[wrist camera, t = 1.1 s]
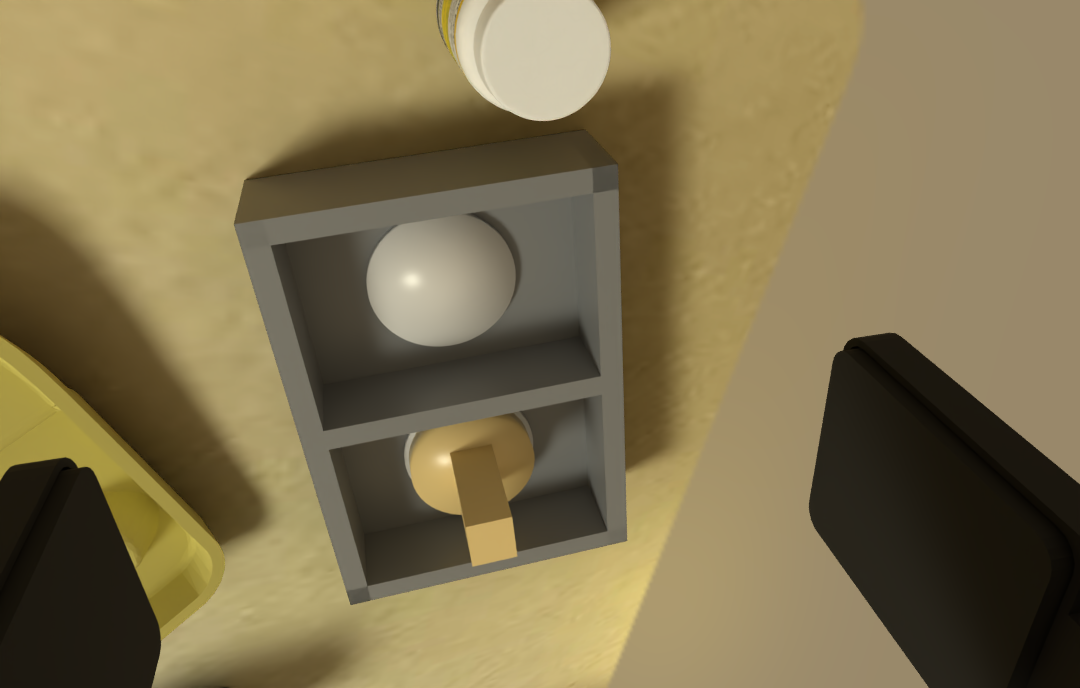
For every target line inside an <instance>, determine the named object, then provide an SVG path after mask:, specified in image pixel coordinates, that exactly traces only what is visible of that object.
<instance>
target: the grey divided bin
mask: <svg viewBox="0 0 1080 688" xmlns="http://www.w3.org/2000/svg"><path fill="white" fill-rule="evenodd" d="M234 226H235V230H236V233H237V236H238V239H239V243H240V246H241V249H242V252H243V256H244V259H245V262H246V265H247V269H248V272H249V275H250V279H251V282H252V285H253V288H254V292H255V295H256V298H257V301H258V305H259V308H260V311H261V314H262V318H263V321H264V324H265V327H266V331H267V334H268V337H269V340H270V344H271V347H272V350H273V353H274V357H275V360H276V363H277V367H278V370H279V373H280V376H281V380H282V383H283V386H284V389H285V393H286V396H287V399H288V402H289V406H290V409H291V412H292V415H293V419H294V422H295V425H296V428H297V432H298V435H299V438H300V441H301V445H302V448H303V451H304V455H305V458H306V461H307V464H308V468H309V471H310V474H311V477H312V481H313V484H314V487H315V490H316V494H317V497H318V500H319V503H320V507H321V510H322V513H323V516H324V520H325V523H326V526H327V529H328V533H329V536H330V539H331V542H332V546H333V549H334V552H335V556H336V559H337V562H338V565H339V569H340V572H341V575H342V578H343V582H344V585H345V588H346V591H347V595H348V598H349V601H350V604H351V605H353V604H357V603H362V602H366V601H370V600H375V599H379V598H383V597H387V596H392V595H396V594H400V593H405V592H409V591H413V590H418V589H422V588H426V587H431V586H435V585H439V584H444V583H448V582H452V581H456V580H461V579H465V578H469V577H474V576H478V575H482V574H487V573H491V572H495V571H500V570H504V569H508V568H512V567H517V566H521V565H525V564H530V563H534V562H538V561H543V560H547V559H551V558H556V557H560V556H564V555H569V554H573V553H577V552H581V551H586V550H590V549H594V548H599V547H603V546H607V545H612V544H616V543H620V542H625V541H627V517H626V476H625V435H624V393H623V352H622V311H621V270H620V228H619V187H618V164H617V162H616V161H615V160H614V159H613V158H612V157H611V156H610V155H609V154H608V153H607V152H606V151H605V150H604V149H603V148H602V147H601V146H600V145H599V144H598V142H597V141H596V140H595V139H594V138H593V137H592V136H591V135H590V134H589V133H588V132H587V131H586V130H579V131H572V132H566V133H559V134H552V135H545V136H539V137H532V138H525V139H519V140H512V141H505V142H499V143H492V144H485V145H478V146H472V147H465V148H458V149H452V150H445V151H438V152H432V153H425V154H418V155H411V156H405V157H398V158H391V159H385V160H378V161H371V162H365V163H358V164H351V165H344V166H338V167H331V168H324V169H318V170H311V171H304V172H297V173H291V174H284V175H277V176H271V177H264V178H257V179H251V180H244V184H243V189H242V193H241V197H240V201H239V205H238V209H237V213H236V218H235V222H234Z"/></svg>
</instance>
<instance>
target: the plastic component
mask: <svg viewBox="0 0 1080 688" xmlns="http://www.w3.org/2000/svg"><path fill="white" fill-rule="evenodd" d="M63 457H66V458H70V459H72V460H73V461H74V462H75V463H76V465H77V467H78V468H80V467H89V468H91V469H92V470H93V471H94V473H95V475H96V477H97V479H98V481H99V484H100V486H101V489H102V491H103V493H104V496H105V498H106V500H107V503H108V505H109V507H110V510H111V512H112V514H113V517H114V519H115V522H116V524H117V526H118V529H119V531H120V533H121V536H122V538H123V540H124V543H125V545H126V548H127V550H128V552H129V555H130V557H131V559H132V562H133V564H134V566H135V569H136V571H137V574H138V576H139V578H140V581H141V583H142V585H143V588H144V590H145V592H146V595H147V597H148V600H149V602H150V604H151V607H152V609H153V611H154V614H155V616H156V618H157V621H158V624H159V628H160V634H161V640H162V639H164V638H165V637H166V636H167V635H168V634H170V633H171V632H172V631H173V630H174V629H175V628H177V627H178V626H179V625H180V624H181V623H183V622H184V621H185V620H186V619H187V618H188V617H190V616H191V615H192V614H193V613H194V612H196V611H197V610H198V609H199V608H200V607H202V606H203V605H204V604H205V603H206V602H207V601H208V600H209V599H210V597H211V596H212V595H213V594H214V593H215V591H216V589H217V588H218V586H219V584H220V582H221V580H222V576H223V573H224V569H225V559H224V554H223V551H222V549H221V547H220V546H219V544H218V542H217V541H216V539H215V538H214V536H213V535H212V533H211V532H210V530H209V529H208V527H207V526H206V524H205V523H204V522H203V520H202V519H201V517H200V516H199V515H198V514H197V513H196V512H195V511H194V510H193V509H192V508H191V507H190V506H189V505H188V504H187V503H186V502H185V501H184V500H183V499H182V498H181V497H180V496H179V495H178V494H177V493H176V492H175V491H174V490H173V489H172V488H171V487H170V486H169V485H168V484H167V483H166V482H165V481H164V480H163V479H162V478H161V477H160V476H159V475H158V474H157V473H156V472H155V471H154V470H153V469H152V468H151V467H150V466H149V465H148V464H147V463H146V462H145V461H144V460H143V459H142V458H141V457H140V456H139V455H138V454H137V453H136V452H135V451H134V450H133V449H132V448H131V447H130V446H129V445H128V444H127V443H126V442H125V441H124V440H123V439H122V438H121V437H120V436H119V435H118V434H117V433H116V432H115V431H114V430H113V429H112V428H111V427H110V426H109V425H108V424H107V423H106V422H105V421H104V420H103V419H102V418H101V417H100V416H99V415H98V414H97V413H96V412H95V411H94V410H93V409H92V408H91V407H90V405H89V404H88V403H87V402H86V401H85V400H84V399H83V398H82V397H81V396H80V395H79V394H78V393H77V392H75V391H74V390H72V389H69V388H67V387H66V386H65V385H64V384H63V383H62V382H61V381H60V380H59V379H58V378H57V377H56V376H54V375H53V374H52V373H51V372H50V371H49V370H48V369H47V368H46V367H44V366H43V365H42V364H41V363H40V362H38V361H37V360H36V359H35V358H33V357H32V356H31V355H29V354H28V353H26V352H25V351H23V350H22V349H20V348H19V347H17V346H16V345H15V344H13V343H12V342H10V341H9V340H7V339H5V338H4V337H2V336H1V335H0V480H1V479H2V477H3V475H4V474H5V472H6V471H7V470H8V469H9V468H10V467H11V466H14V465H17V464H24V463H30V462H37V461H44V460H50V459H57V458H63Z"/></svg>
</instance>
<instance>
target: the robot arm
mask: <svg viewBox="0 0 1080 688" xmlns="http://www.w3.org/2000/svg"><path fill="white" fill-rule="evenodd" d="M809 512H810V516H811V520H812V522H813V525H814V527H815V529H816V531H817V532H818V533H819V535H820V536H821V538H822V539H823V540H824V542H825V543H826V545H827V546H828V547H829V549H830V550H831V552H832V553H833V554H834V556H835V557H836V559H837V560H838V561H839V563H840V564H841V565H842V567H843V568H844V570H845V571H846V573H847V574H848V575H849V576H850V578H851V580H852V581H853V582H854V584H855V585H856V587H857V588H858V589H859V591H860V592H861V593H862V595H863V596H864V598H865V599H866V600H867V602H868V603H869V605H870V606H871V607H872V609H873V610H874V612H875V613H876V614H877V616H878V617H879V619H880V620H881V621H882V623H883V624H884V626H885V627H886V628H887V630H888V631H889V633H890V634H891V635H892V637H893V638H894V639H895V641H896V642H897V644H898V645H899V646H900V648H901V649H902V651H903V652H904V653H905V655H906V656H907V657H908V659H909V660H910V662H911V663H912V665H913V666H914V667H915V669H916V670H917V671H918V673H919V674H920V676H921V677H922V678H923V680H924V681H925V683H926V684H927V686H928V687H929V688H1080V484H1079V483H1077V482H1076V481H1075V480H1074V479H1073V478H1071V477H1070V476H1069V475H1068V474H1067V473H1065V472H1064V471H1063V470H1062V469H1061V468H1059V467H1058V466H1057V465H1056V464H1054V463H1053V462H1052V461H1051V460H1050V459H1048V458H1047V457H1046V456H1045V455H1044V454H1042V453H1041V452H1040V451H1039V450H1038V449H1036V448H1035V447H1034V446H1033V445H1032V444H1030V443H1029V442H1028V441H1026V440H1025V439H1024V438H1023V437H1022V436H1021V435H1019V434H1018V433H1017V432H1016V431H1015V430H1013V429H1012V428H1011V427H1010V426H1008V425H1007V424H1006V423H1005V422H1004V421H1002V420H1001V419H1000V418H999V417H998V416H996V415H995V414H994V413H993V412H992V411H990V410H989V409H988V408H987V407H985V406H984V405H983V404H982V403H981V402H979V401H978V400H977V399H976V398H975V397H973V396H972V395H971V394H970V393H969V392H967V391H966V390H965V389H964V388H963V387H961V386H960V385H959V384H958V383H957V382H955V381H954V380H953V379H952V378H951V377H949V376H948V375H947V374H946V373H944V372H943V371H942V370H941V369H940V368H938V367H937V366H936V365H935V364H934V363H932V362H931V361H930V360H929V359H928V358H926V357H925V356H924V355H923V354H921V353H920V352H919V351H918V350H916V349H915V348H914V347H913V346H912V345H911V344H909V343H908V342H907V341H906V340H905V339H903V338H902V337H901V336H899V335H897V334H896V333H885V334H878V335H872V336H865V337H858V338H853V339H851V340H849V341H848V342H847V343H846V345H845V346H844V350H843V351H840V352H838V353H837V354H836V355H835V357H834V360H833V364H832V370H831V376H830V382H829V388H828V394H827V399H826V406H825V412H824V417H823V423H822V429H821V436H820V441H819V447H818V453H817V459H816V465H815V471H814V477H813V482H812V488H811V494H810V500H809ZM160 649H161V634H160V628H159V624H158V621H157V618H156V616H155V614H154V611H153V609H152V607H151V604H150V602H149V600H148V597H147V595H146V592H145V590H144V588H143V585H142V583H141V581H140V578H139V576H138V574H137V571H136V569H135V566H134V564H133V562H132V559H131V557H130V555H129V552H128V550H127V548H126V545H125V543H124V540H123V538H122V536H121V533H120V531H119V529H118V526H117V524H116V522H115V519H114V517H113V514H112V512H111V510H110V507H109V505H108V503H107V500H106V498H105V496H104V493H103V491H102V489H101V486H100V484H99V481H98V479H97V477H96V475H95V473H94V471H93V470H92V469H91V468H89V467H80V468H78V467H77V465H76V463H75V462H74V461H73V460H72V459H70V458H66V457H63V458H57V459H50V460H44V461H37V462H30V463H24V464H17V465H14V466H11V467H10V468H9V469H8V470H7V471H6V472H5V474H4V475H3V477H2V479H1V480H0V688H152V684H153V680H154V676H155V672H156V667H157V663H158V659H159V655H160Z"/></svg>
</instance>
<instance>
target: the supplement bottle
mask: <svg viewBox="0 0 1080 688" xmlns="http://www.w3.org/2000/svg"><path fill="white" fill-rule="evenodd" d="M436 15H437V23H438V27H439V31H440V34H441V37H442V39H443V41H444V43H445V45H446V47H447V49H448V50H449V52H450V53H451V55H452V56H453V58H454V59H455V61H456V62H457V64H458V65H459V67H460V68H461V70H462V72H463V73H464V75H465V76H466V78H467V80H468V81H469V83H470V84H471V85H472V86H473V87H474V88H475V89H476V91H477V92H478V93H479V94H481V95H482V96H483V97H484V98H485V99H487V100H488V101H489V102H491V103H492V104H494V105H496V106H497V107H499V108H502V109H504V110H507V111H510V112H512V113H514V114H515V115H518V116H520V117H523V118H526V119H530V120H536V121H550V120H556V119H560V118H563V117H566V116H568V115H570V114H572V113H574V112H576V111H577V110H579V109H580V108H582V107H583V106H584V105H585V104H586V103H588V102H589V101H590V100H591V99H592V97H593V96H594V95H595V94H596V93H597V91H598V90H599V88H600V86H601V85H602V83H603V81H604V79H605V76H606V73H607V70H608V67H609V63H610V56H611V40H610V33H609V29H608V26H607V23H606V20H605V18H604V16H603V14H602V12H601V11H600V9H599V7H598V6H597V5H596V3H595V2H594V0H437V5H436Z"/></svg>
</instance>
